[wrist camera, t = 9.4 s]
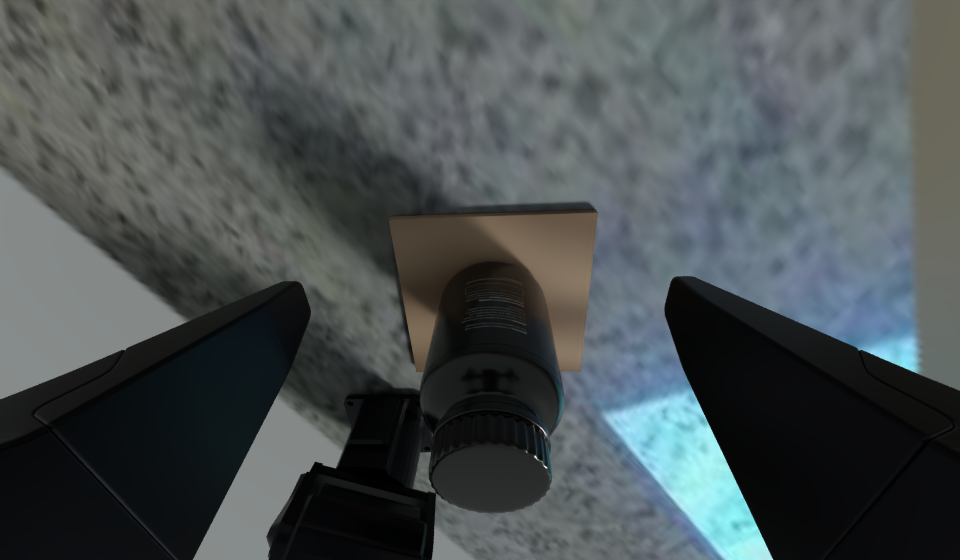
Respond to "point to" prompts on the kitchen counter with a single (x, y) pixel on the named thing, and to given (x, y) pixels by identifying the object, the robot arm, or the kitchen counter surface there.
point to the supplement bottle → (491, 390)
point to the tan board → (504, 238)
